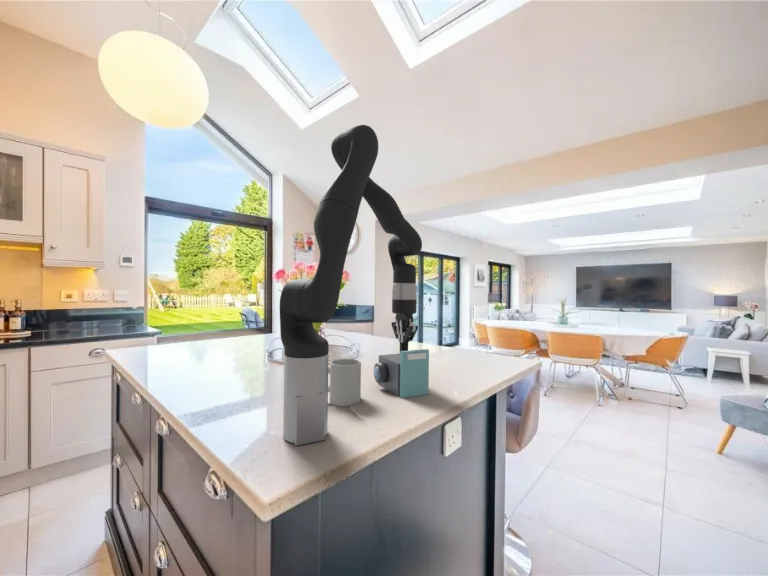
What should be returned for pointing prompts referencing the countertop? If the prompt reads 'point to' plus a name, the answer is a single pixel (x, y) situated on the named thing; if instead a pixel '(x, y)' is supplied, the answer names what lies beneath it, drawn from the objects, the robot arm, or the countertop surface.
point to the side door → (414, 373)
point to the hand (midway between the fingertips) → (403, 354)
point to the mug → (345, 382)
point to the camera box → (388, 373)
